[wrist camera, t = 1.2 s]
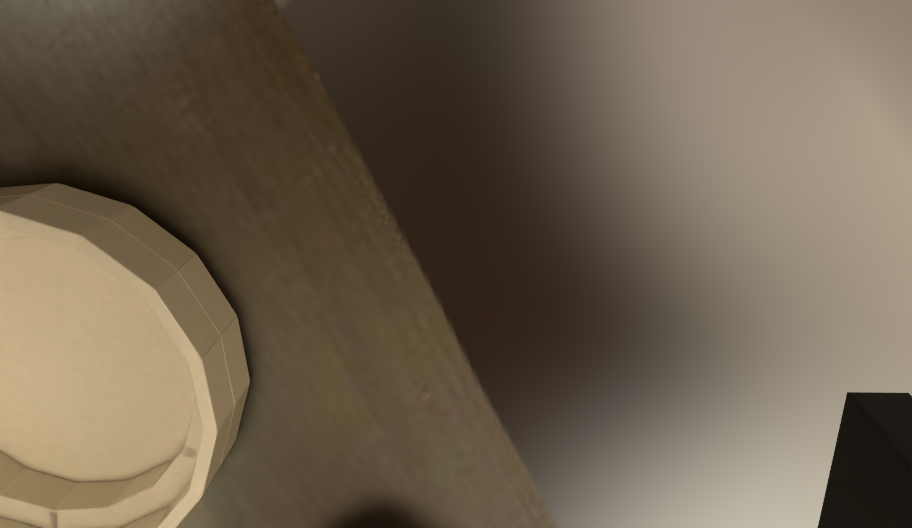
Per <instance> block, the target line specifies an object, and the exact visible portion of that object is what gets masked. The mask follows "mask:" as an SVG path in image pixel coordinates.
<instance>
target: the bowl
mask: <svg viewBox="0 0 912 528" xmlns="http://www.w3.org/2000/svg"><path fill="white" fill-rule="evenodd" d="M249 384H250V378H249V373H248V368H247V363H246V358H245V353H244V348H243V343H242V337H241V332H240V327H239V322H238V317H237V316H236V313H235V312H234V310H233V309H232V307H231V306H230V304H229V302H228V301H227V299H226V298H225V296H224V295H223V293H222V292H221V290H220V289H219V287H218V286H217V284H216V283H215V281H214V280H213V278H212V276H211V275H210V273H209V272H208V270H207V269H206V267H205V266H204V264H203V263H202V261H201V260H200V258H199V257H198V255H197V254H195V252H194V251H193V250H191V249H190V248H189V247H187V246H186V245H185V244H183V243H182V242H181V241H179V240H178V239H177V238H175V237H174V236H173V235H171V234H170V233H169V232H167V231H166V230H165V229H163V228H162V227H161V226H159V225H158V224H157V223H155V222H154V221H153V220H151V219H150V218H149V217H147V216H146V215H145V214H143V213H142V212H141V211H139V210H138V209H137V208H135V207H133V206H132V205H129V204H125V203H122V202H119V201H115V200H112V199H109V198H106V197H102V196H99V195H96V194H93V193H89V192H86V191H83V190H79V189H76V188H73V187H70V186H66V185H63V184H60V183H58V184H57V183H51V184H39V185H27V186H15V187H3V188H0V528H176V527H177V526H178V524H179V523H180V522H181V521H182V520H183V519H184V517H185V516H186V515H187V514H188V513H189V512H190V510H191V509H192V508H193V507H194V506H195V505H196V503H197V502H198V501H199V500H200V499H201V498H202V496H203V494H204V493H205V491H206V489H207V488H208V486H209V484H210V483H211V481H212V479H213V478H214V476H215V474H216V473H217V471H218V469H219V467H220V466H221V464H222V463H223V461H224V459H225V458H226V456H227V454H228V452H229V451H230V449H231V447H232V446H233V444H234V442H235V440H236V437H237V433H238V429H239V425H240V421H241V417H242V413H243V409H244V405H245V400H246V396H247V392H248V388H249Z"/></svg>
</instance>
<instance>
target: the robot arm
mask: <svg viewBox="0 0 912 528" xmlns="http://www.w3.org/2000/svg"><path fill="white" fill-rule="evenodd" d="M818 528H912V396H911V395H910V394H909V393H850V392H848V393H847V396H846V401H845V405H844V410H843V415H842V419H841V424H840V429H839V433H838V438H837V442H836V447H835V451H834V456H833V461H832V465H831V470H830V474H829V479H828V484H827V488H826V493H825V497H824V502H823V506H822V511H821V516H820V520H819V525H818Z"/></svg>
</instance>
